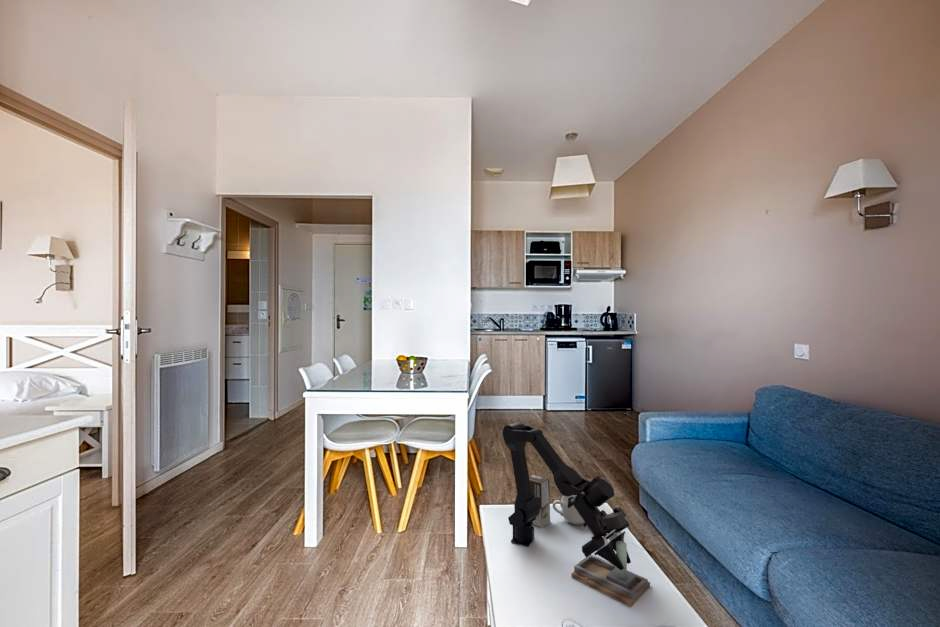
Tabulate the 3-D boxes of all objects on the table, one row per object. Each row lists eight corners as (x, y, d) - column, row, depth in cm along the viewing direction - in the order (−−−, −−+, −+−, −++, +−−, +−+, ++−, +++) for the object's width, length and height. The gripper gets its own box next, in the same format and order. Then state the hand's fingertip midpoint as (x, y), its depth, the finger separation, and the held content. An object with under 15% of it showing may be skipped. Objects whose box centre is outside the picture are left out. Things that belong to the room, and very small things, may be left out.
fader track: (571, 577, 126) (571, 568, 126) (592, 560, 134) (592, 552, 134) (630, 607, 113) (630, 597, 113) (650, 586, 121) (650, 577, 121)
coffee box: (551, 521, 159) (550, 478, 159) (542, 528, 155) (541, 483, 155) (529, 514, 165) (529, 472, 165) (520, 520, 160) (520, 477, 160)
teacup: (590, 515, 164) (590, 494, 164) (591, 529, 153) (591, 507, 153) (553, 512, 167) (553, 491, 167) (552, 525, 156) (551, 503, 156)
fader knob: (606, 582, 121) (606, 543, 121) (616, 573, 125) (616, 535, 125) (626, 592, 117) (626, 551, 117) (636, 582, 121) (636, 543, 121)
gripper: (591, 511, 117) (630, 568, 109) (623, 491, 130) (660, 540, 122) (566, 529, 123) (602, 585, 115) (599, 508, 136) (633, 557, 128)
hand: (626, 566), depth 120 cm, fingers open, 4 cm apart
